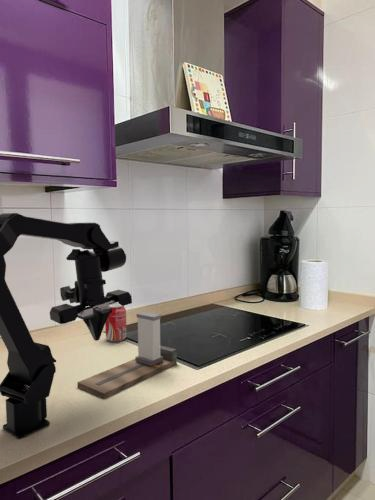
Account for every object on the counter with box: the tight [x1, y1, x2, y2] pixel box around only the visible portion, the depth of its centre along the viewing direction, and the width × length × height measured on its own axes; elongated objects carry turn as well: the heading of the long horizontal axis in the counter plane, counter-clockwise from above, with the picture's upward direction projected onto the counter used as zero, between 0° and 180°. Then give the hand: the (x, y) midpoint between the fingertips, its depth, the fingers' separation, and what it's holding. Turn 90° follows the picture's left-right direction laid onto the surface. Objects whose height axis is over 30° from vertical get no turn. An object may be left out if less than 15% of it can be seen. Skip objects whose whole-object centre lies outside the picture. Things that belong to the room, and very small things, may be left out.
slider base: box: [77, 344, 178, 399], centre depth 98 cm, size 26×10×4 cm, turn 142°
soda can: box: [104, 302, 127, 343], centre depth 128 cm, size 7×7×12 cm
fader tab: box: [134, 311, 163, 366], centre depth 104 cm, size 5×6×13 cm
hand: (96, 340), depth 89 cm, fingers closed
